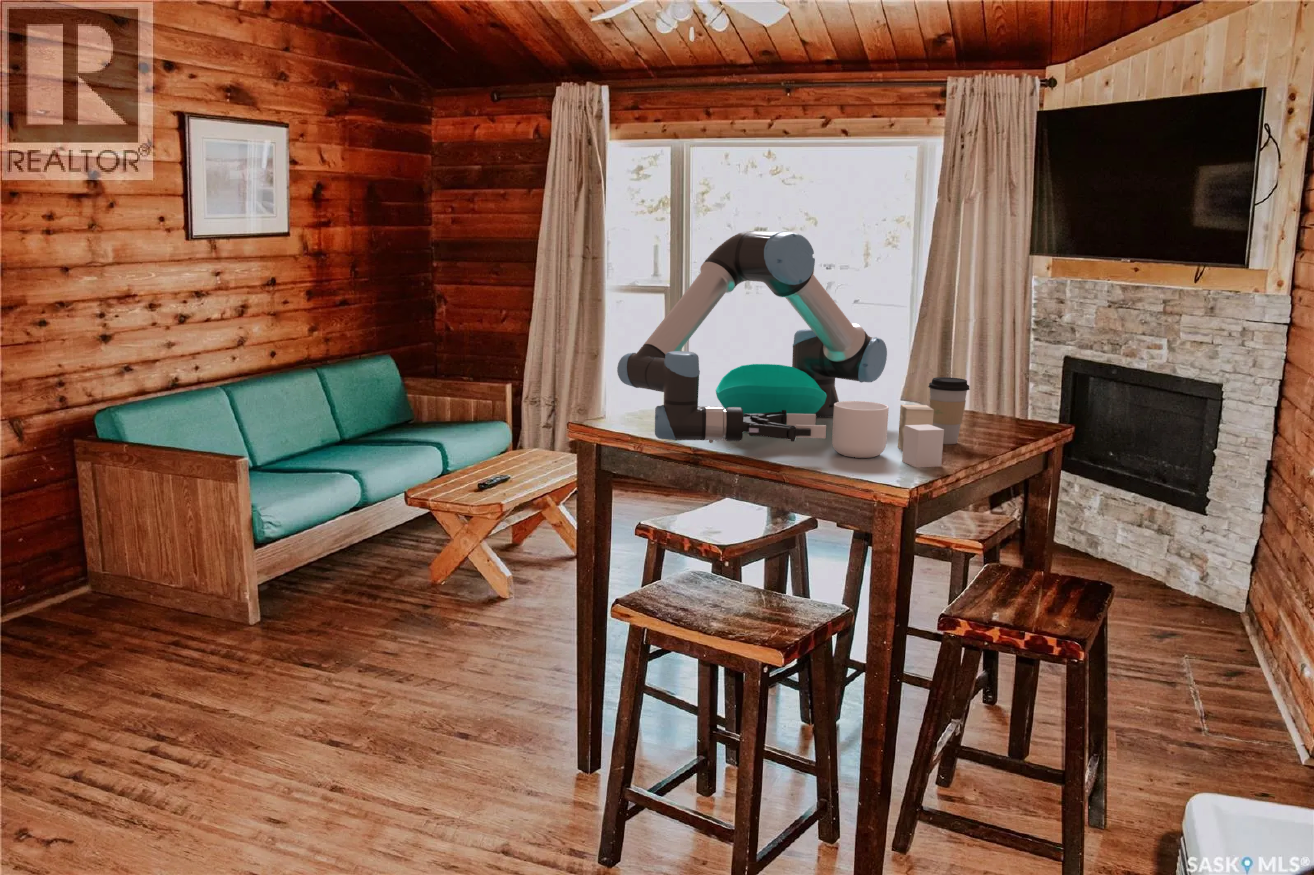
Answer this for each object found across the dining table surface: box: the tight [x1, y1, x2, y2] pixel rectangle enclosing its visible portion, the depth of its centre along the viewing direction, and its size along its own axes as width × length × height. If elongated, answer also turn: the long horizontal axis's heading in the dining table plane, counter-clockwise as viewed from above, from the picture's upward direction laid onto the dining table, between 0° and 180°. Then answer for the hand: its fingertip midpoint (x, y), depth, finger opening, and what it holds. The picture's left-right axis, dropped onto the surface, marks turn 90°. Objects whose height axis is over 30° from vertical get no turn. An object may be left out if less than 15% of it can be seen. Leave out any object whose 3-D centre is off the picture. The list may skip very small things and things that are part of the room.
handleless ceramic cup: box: [831, 400, 890, 459], centre depth 230 cm, size 12×12×11 cm
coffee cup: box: [928, 376, 971, 445], centre depth 246 cm, size 9×9×15 cm
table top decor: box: [715, 363, 827, 425], centre depth 261 cm, size 40×28×13 cm
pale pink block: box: [901, 424, 944, 468], centre depth 222 cm, size 6×6×8 cm
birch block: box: [897, 404, 934, 452], centre depth 236 cm, size 6×6×10 cm
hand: (820, 425), depth 229 cm, fingers open, 13 cm apart
